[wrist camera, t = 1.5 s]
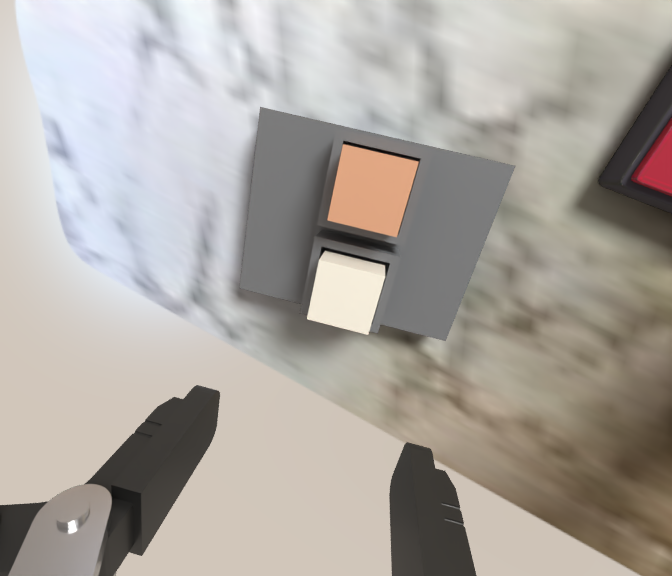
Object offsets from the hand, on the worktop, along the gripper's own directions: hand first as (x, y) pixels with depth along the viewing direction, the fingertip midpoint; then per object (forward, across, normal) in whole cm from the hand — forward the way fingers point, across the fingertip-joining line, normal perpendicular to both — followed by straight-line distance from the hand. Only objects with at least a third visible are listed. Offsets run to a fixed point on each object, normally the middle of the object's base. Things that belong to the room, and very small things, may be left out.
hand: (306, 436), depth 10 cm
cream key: (+14, 0, 0) cm, 14 cm away
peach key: (+14, 0, -7) cm, 16 cm away
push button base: (+20, 0, -4) cm, 20 cm away
